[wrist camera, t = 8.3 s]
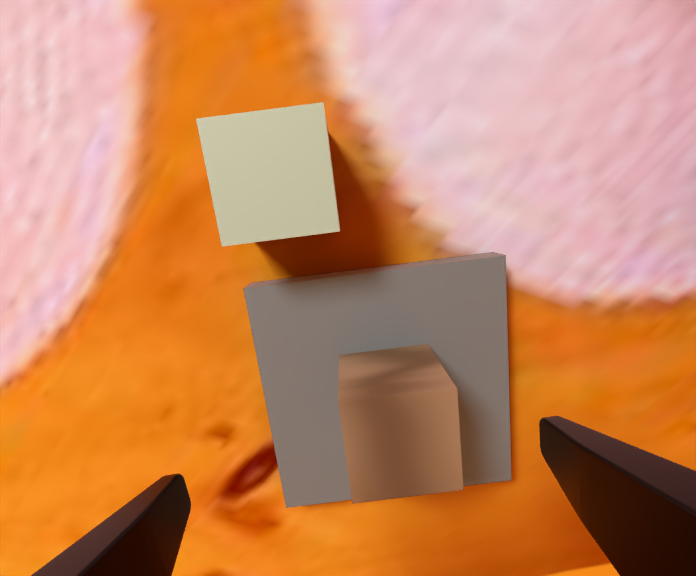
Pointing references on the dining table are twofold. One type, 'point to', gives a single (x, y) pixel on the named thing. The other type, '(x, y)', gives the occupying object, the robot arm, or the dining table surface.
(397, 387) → the walnut cube
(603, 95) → the dining table surface
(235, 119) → the sage cube
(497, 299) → the base board
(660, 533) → the robot arm
